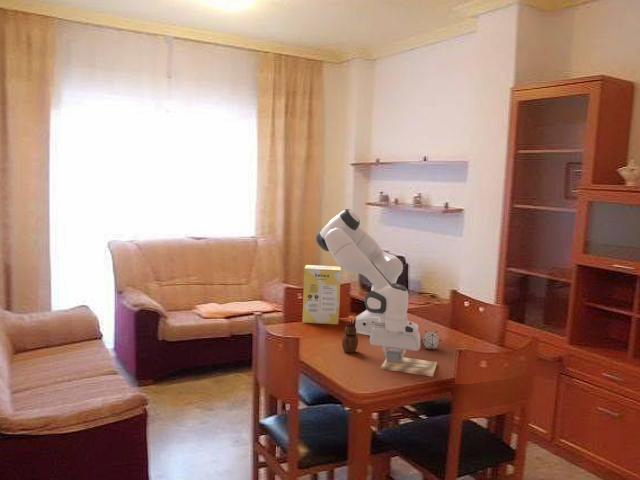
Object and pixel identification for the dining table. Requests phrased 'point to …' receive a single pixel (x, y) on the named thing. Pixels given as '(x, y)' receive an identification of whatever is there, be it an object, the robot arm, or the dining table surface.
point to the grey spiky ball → (431, 340)
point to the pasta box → (321, 294)
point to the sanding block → (393, 356)
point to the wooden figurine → (350, 338)
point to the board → (412, 366)
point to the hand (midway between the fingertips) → (393, 358)
